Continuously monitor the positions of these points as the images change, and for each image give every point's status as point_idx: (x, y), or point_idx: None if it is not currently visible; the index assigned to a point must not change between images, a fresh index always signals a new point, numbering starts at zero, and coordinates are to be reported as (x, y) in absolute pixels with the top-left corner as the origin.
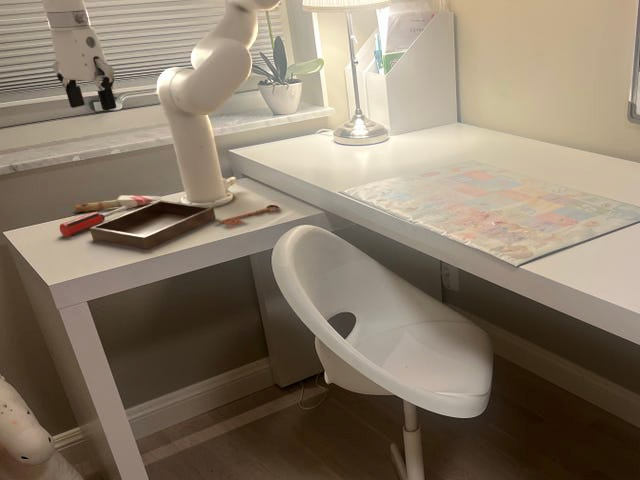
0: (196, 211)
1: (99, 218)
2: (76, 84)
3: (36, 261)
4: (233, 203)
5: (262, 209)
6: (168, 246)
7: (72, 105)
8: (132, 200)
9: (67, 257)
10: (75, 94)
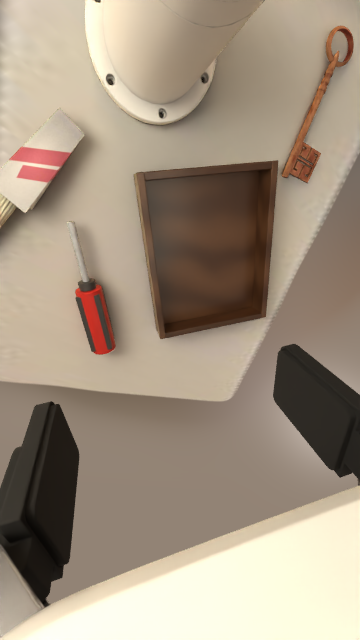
0: (235, 172)
1: (102, 293)
2: (7, 552)
3: (154, 393)
4: None
5: (329, 73)
6: None
7: (76, 462)
8: (45, 186)
9: (177, 369)
10: (61, 494)
